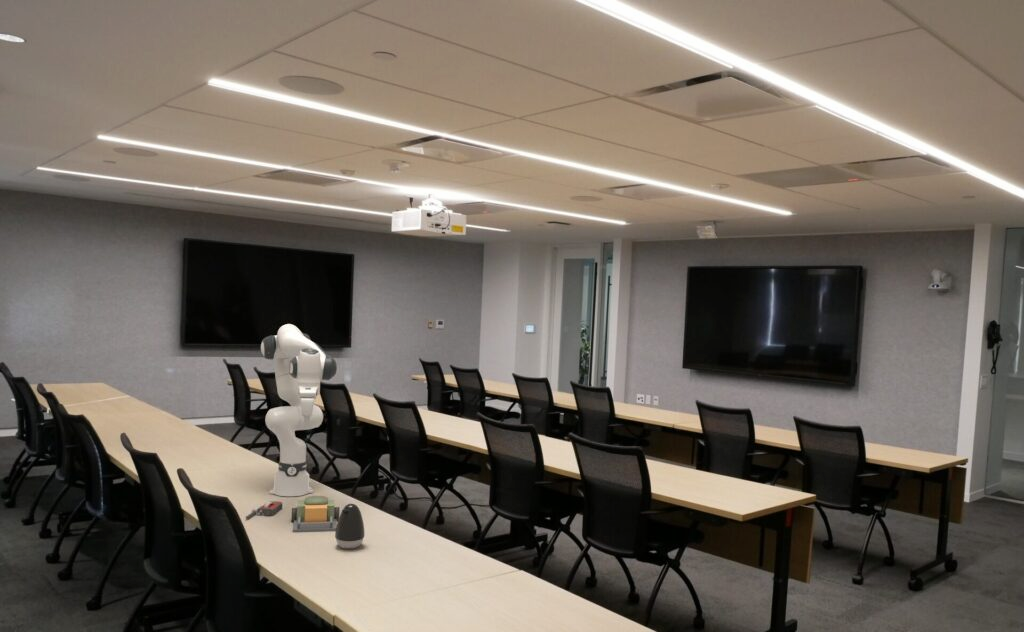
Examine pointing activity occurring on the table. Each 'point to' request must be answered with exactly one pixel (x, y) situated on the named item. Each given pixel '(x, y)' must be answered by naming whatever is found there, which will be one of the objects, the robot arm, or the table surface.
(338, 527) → the pump dispenser
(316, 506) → the orange cardboard box
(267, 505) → the walkie-talkie
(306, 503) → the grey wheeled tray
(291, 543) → the table surface
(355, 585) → the table surface
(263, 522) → the table surface
